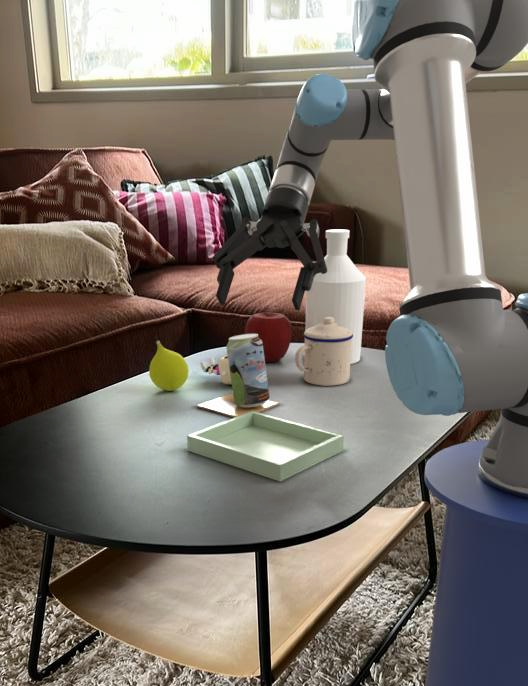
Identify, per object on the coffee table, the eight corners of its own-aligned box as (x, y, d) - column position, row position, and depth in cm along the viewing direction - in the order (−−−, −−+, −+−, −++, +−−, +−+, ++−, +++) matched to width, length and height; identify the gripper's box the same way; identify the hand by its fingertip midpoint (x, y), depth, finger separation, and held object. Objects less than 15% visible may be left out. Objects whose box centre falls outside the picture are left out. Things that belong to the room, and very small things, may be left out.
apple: (288, 354, 162) (289, 306, 157) (294, 366, 153) (295, 316, 149) (244, 355, 161) (243, 307, 157) (247, 367, 153) (246, 317, 148)
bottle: (354, 350, 164) (361, 226, 153) (367, 364, 153) (375, 233, 142) (300, 352, 163) (302, 228, 152) (308, 366, 153) (312, 234, 142)
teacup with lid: (328, 370, 150) (331, 310, 145) (360, 381, 143) (364, 318, 138) (280, 381, 144) (281, 318, 139) (311, 392, 137) (313, 327, 132)
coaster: (279, 404, 131) (279, 402, 131) (240, 419, 124) (240, 417, 124) (236, 393, 137) (236, 391, 137) (197, 407, 130) (197, 405, 130)
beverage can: (260, 413, 126) (260, 341, 121) (221, 407, 129) (219, 336, 123) (275, 402, 131) (276, 332, 126) (237, 397, 134) (236, 328, 129)
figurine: (217, 348, 148) (265, 347, 140) (222, 380, 150) (269, 380, 143) (191, 356, 143) (239, 355, 135) (196, 388, 145) (244, 389, 138)
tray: (343, 450, 111) (343, 435, 110) (280, 481, 102) (280, 465, 101) (252, 425, 122) (252, 410, 121) (187, 450, 112) (186, 435, 111)
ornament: (148, 386, 142) (144, 332, 138) (185, 382, 144) (182, 329, 139) (153, 397, 136) (149, 341, 131) (192, 393, 137) (190, 338, 133)
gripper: (360, 216, 133) (332, 320, 127) (229, 214, 141) (197, 311, 135) (354, 184, 126) (324, 293, 120) (216, 184, 135) (182, 285, 129)
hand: (257, 303), depth 128 cm, fingers open, 13 cm apart
